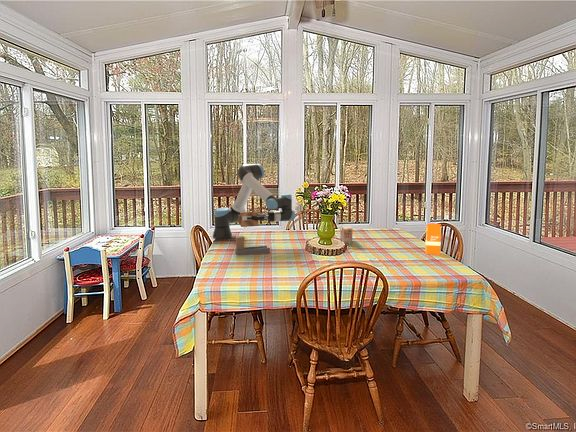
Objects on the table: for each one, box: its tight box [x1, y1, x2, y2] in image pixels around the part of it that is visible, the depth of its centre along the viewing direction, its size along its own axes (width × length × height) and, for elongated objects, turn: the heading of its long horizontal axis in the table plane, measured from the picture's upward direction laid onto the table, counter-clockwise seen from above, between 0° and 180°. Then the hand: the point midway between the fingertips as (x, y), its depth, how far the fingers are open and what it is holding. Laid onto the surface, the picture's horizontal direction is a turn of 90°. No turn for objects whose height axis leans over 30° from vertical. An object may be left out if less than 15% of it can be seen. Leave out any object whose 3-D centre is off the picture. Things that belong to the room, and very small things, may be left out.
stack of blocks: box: [339, 225, 354, 246], centre depth 339 cm, size 21×6×12 cm, turn 0°
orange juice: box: [424, 223, 442, 255], centre depth 304 cm, size 8×9×20 cm
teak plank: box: [238, 211, 259, 228], centre depth 320 cm, size 14×4×10 cm, turn 107°
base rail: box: [234, 235, 271, 256], centre depth 307 cm, size 22×9×11 cm, turn 107°
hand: (241, 217), depth 318 cm, fingers closed on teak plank, 4 cm apart
